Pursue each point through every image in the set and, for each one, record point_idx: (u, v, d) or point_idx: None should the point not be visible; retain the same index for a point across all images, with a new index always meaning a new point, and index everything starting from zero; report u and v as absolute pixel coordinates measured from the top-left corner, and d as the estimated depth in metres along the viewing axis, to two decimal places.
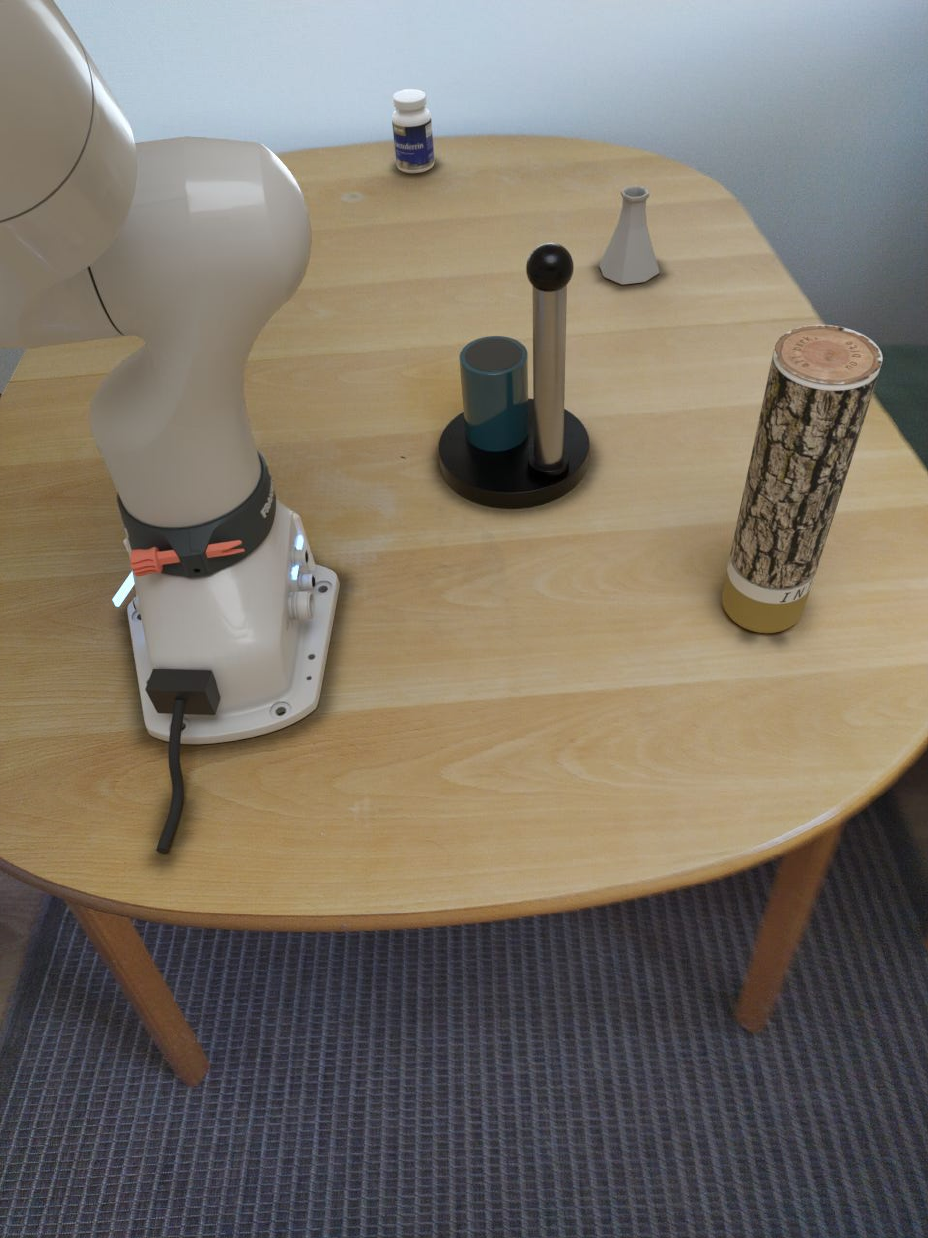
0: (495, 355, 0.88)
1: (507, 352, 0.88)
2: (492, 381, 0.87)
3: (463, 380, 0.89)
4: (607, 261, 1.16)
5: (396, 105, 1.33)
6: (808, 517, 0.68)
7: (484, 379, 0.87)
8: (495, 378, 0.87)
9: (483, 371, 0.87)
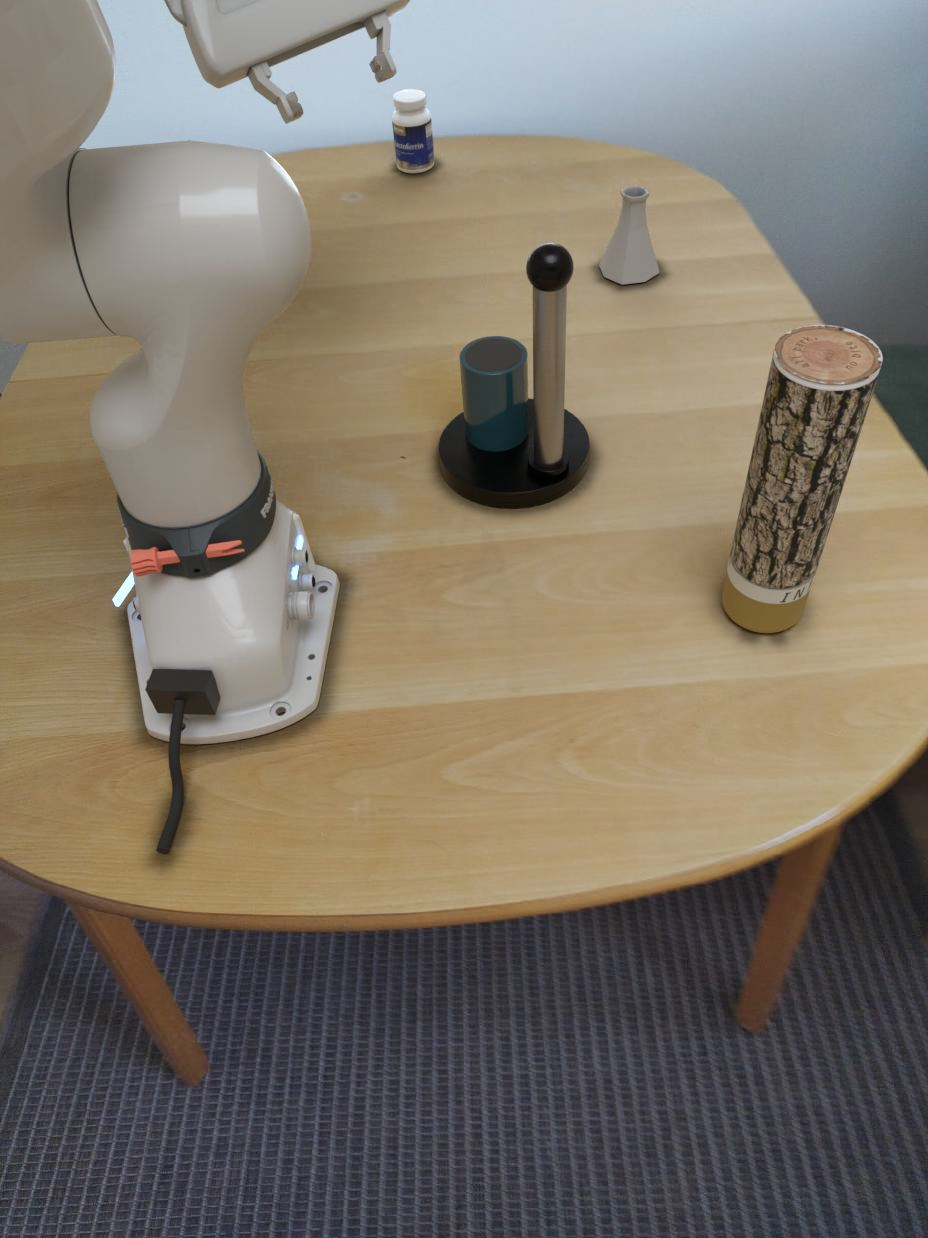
0: (495, 355, 0.88)
1: (507, 352, 0.88)
2: (492, 381, 0.87)
3: (463, 380, 0.89)
4: (607, 261, 1.16)
5: (396, 105, 1.33)
6: (808, 517, 0.68)
7: (484, 379, 0.87)
8: (495, 378, 0.87)
9: (483, 371, 0.87)
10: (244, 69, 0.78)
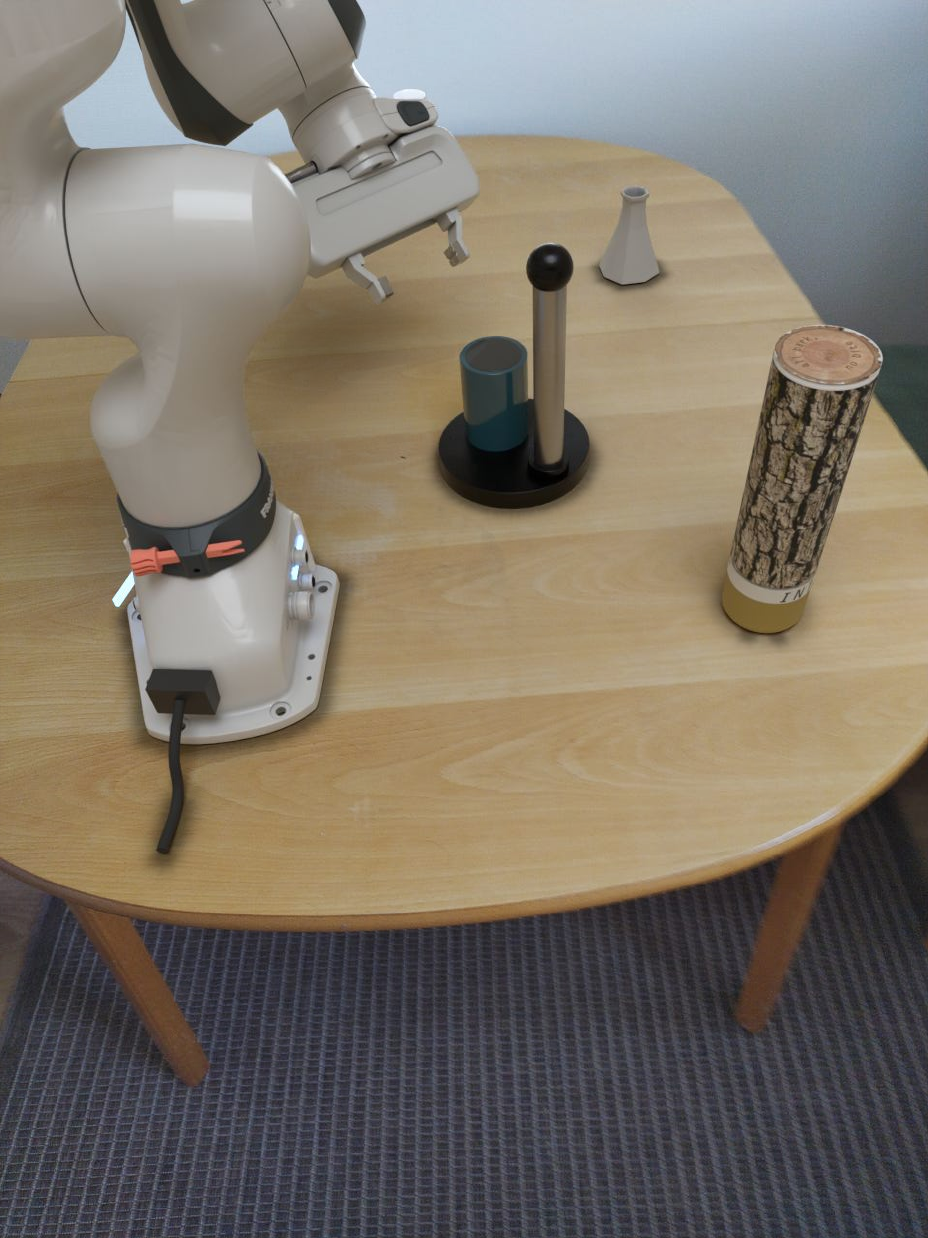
0: (495, 355, 0.88)
1: (507, 352, 0.88)
2: (492, 381, 0.87)
3: (463, 380, 0.89)
4: (607, 261, 1.16)
5: None
6: (808, 517, 0.68)
7: (484, 379, 0.87)
8: (495, 378, 0.87)
9: (483, 371, 0.87)
10: (342, 260, 0.86)
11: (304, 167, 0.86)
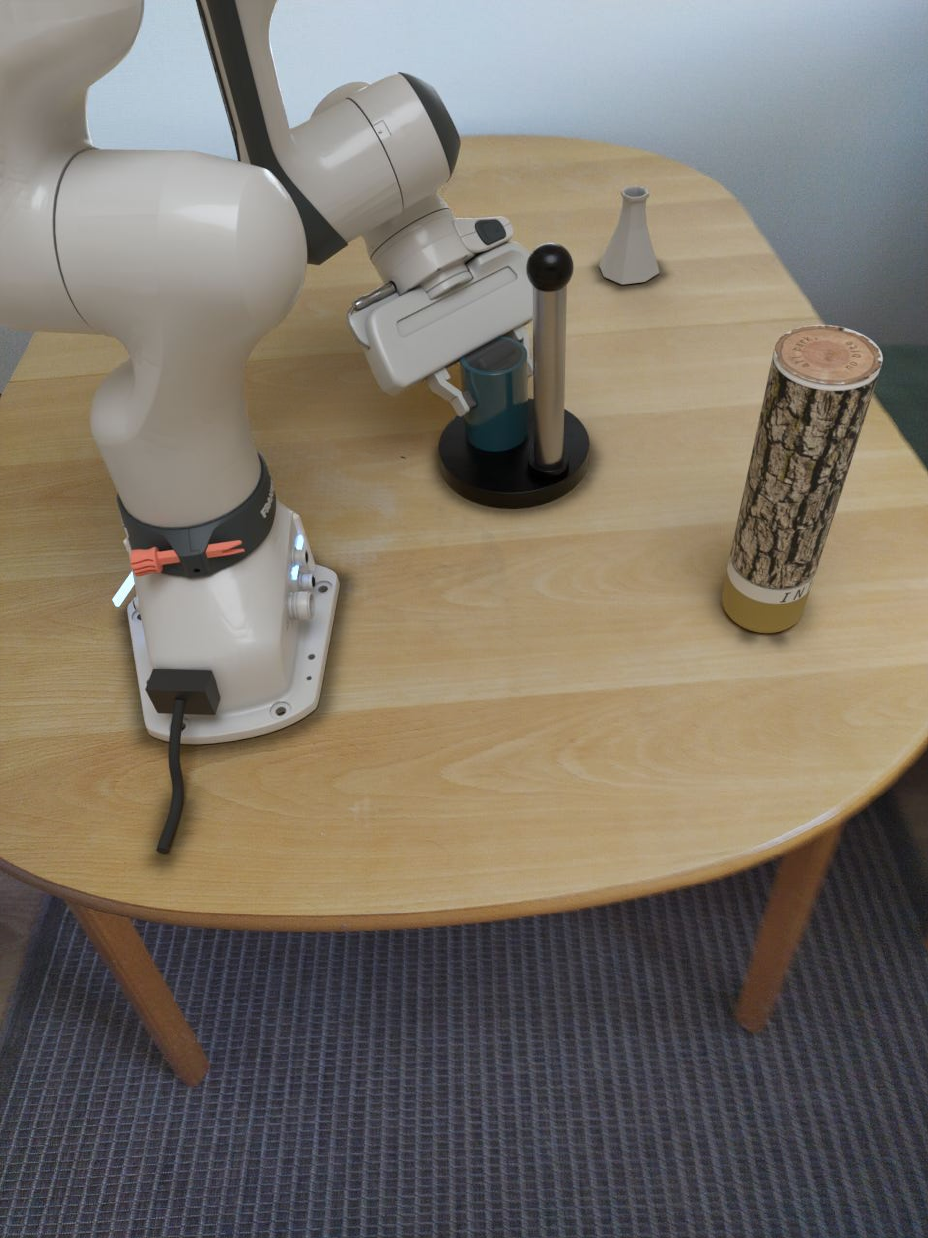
0: (495, 355, 0.88)
1: (506, 352, 0.88)
2: (492, 381, 0.87)
3: (463, 380, 0.89)
4: (607, 261, 1.16)
5: None
6: (808, 517, 0.68)
7: (484, 379, 0.87)
8: (494, 378, 0.87)
9: (483, 371, 0.87)
10: (421, 379, 0.87)
11: (384, 288, 0.87)
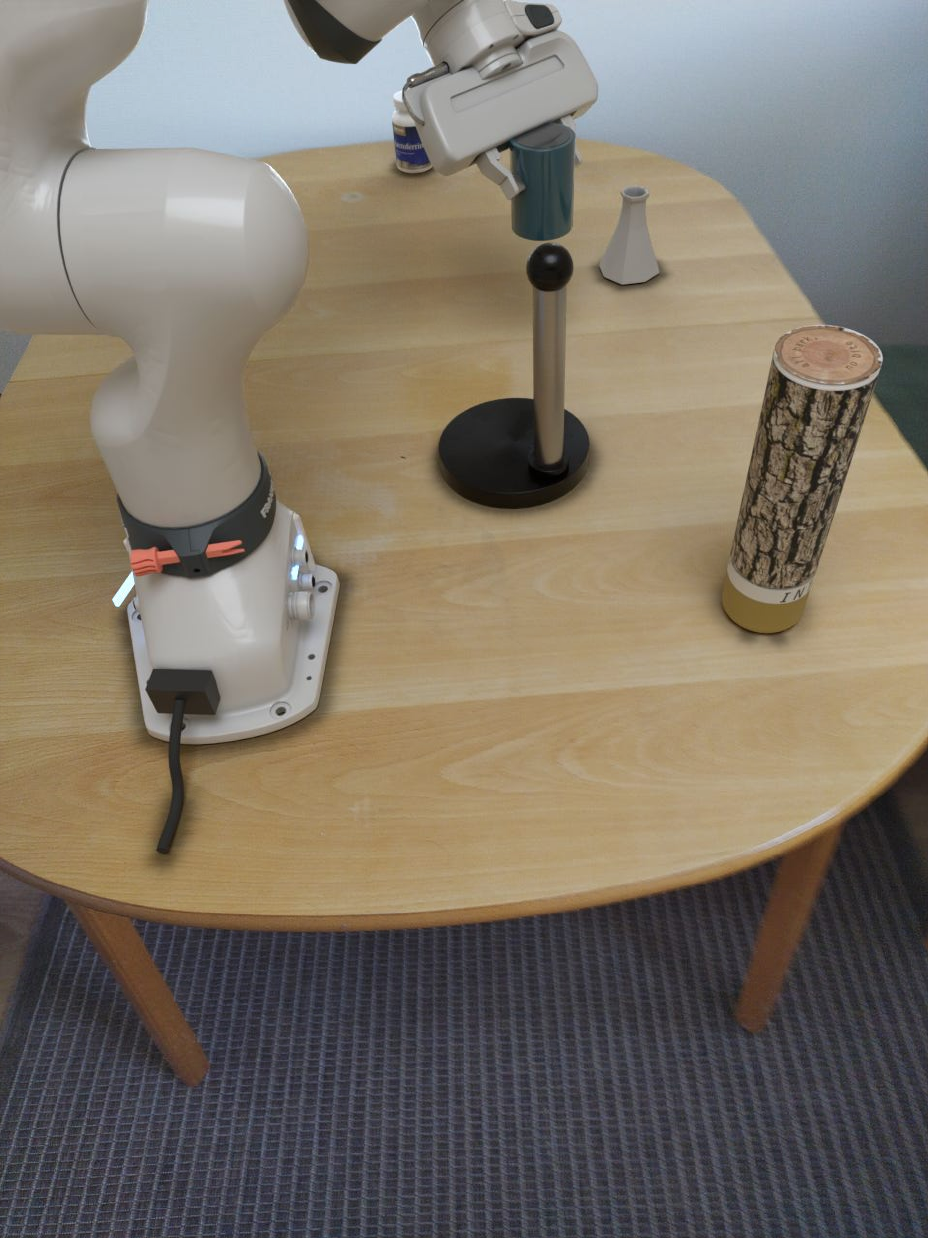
0: (544, 136, 0.91)
1: (555, 133, 0.91)
2: (542, 158, 0.90)
3: (513, 162, 0.92)
4: (607, 261, 1.16)
5: (396, 105, 1.33)
6: (808, 517, 0.68)
7: (534, 156, 0.90)
8: (544, 155, 0.90)
9: (533, 148, 0.90)
10: (473, 157, 0.90)
11: (437, 67, 0.89)
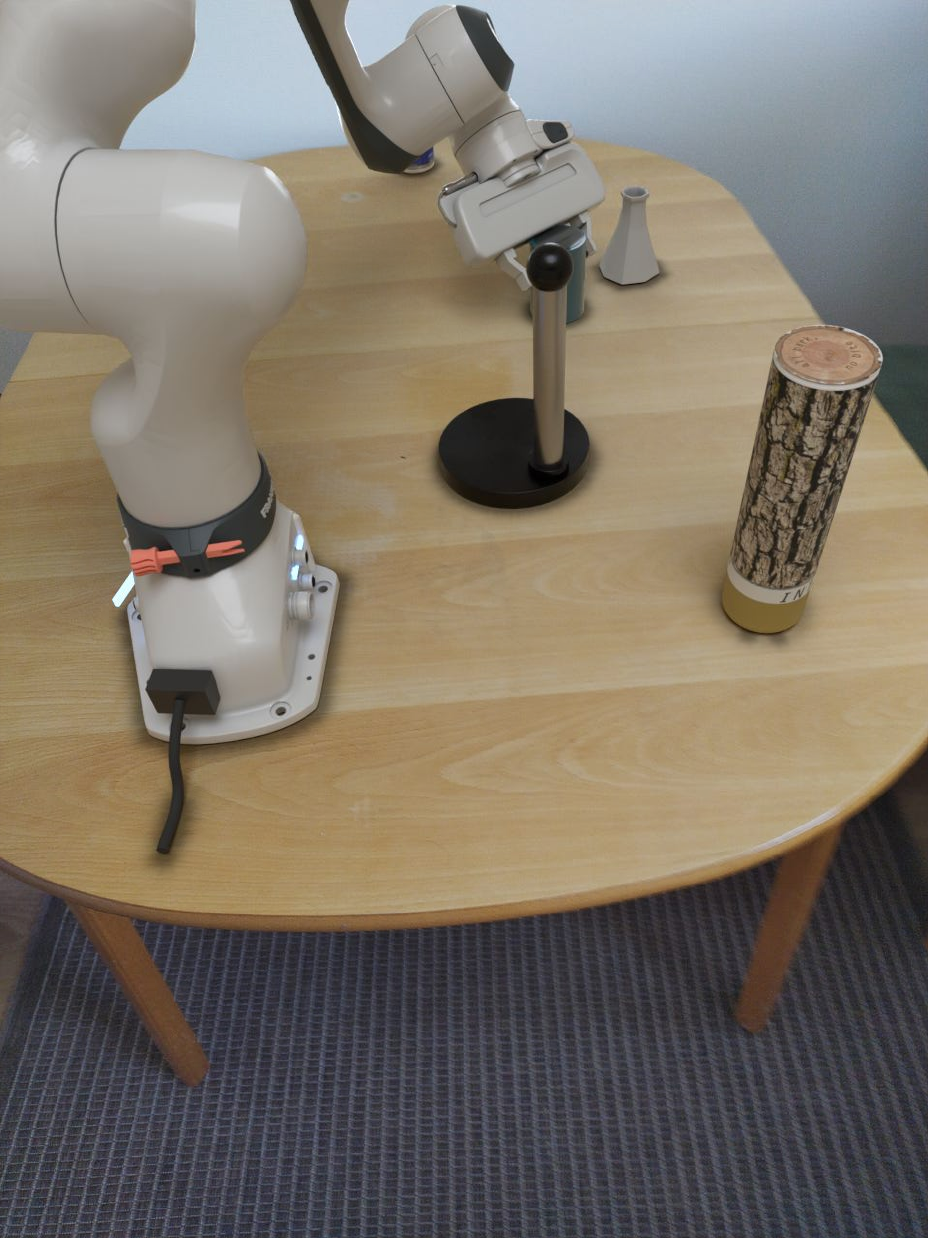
0: (559, 238, 1.06)
1: (569, 236, 1.06)
2: None
3: None
4: (607, 261, 1.16)
5: None
6: (808, 517, 0.68)
7: None
8: None
9: None
10: (498, 254, 1.04)
11: (468, 177, 1.04)
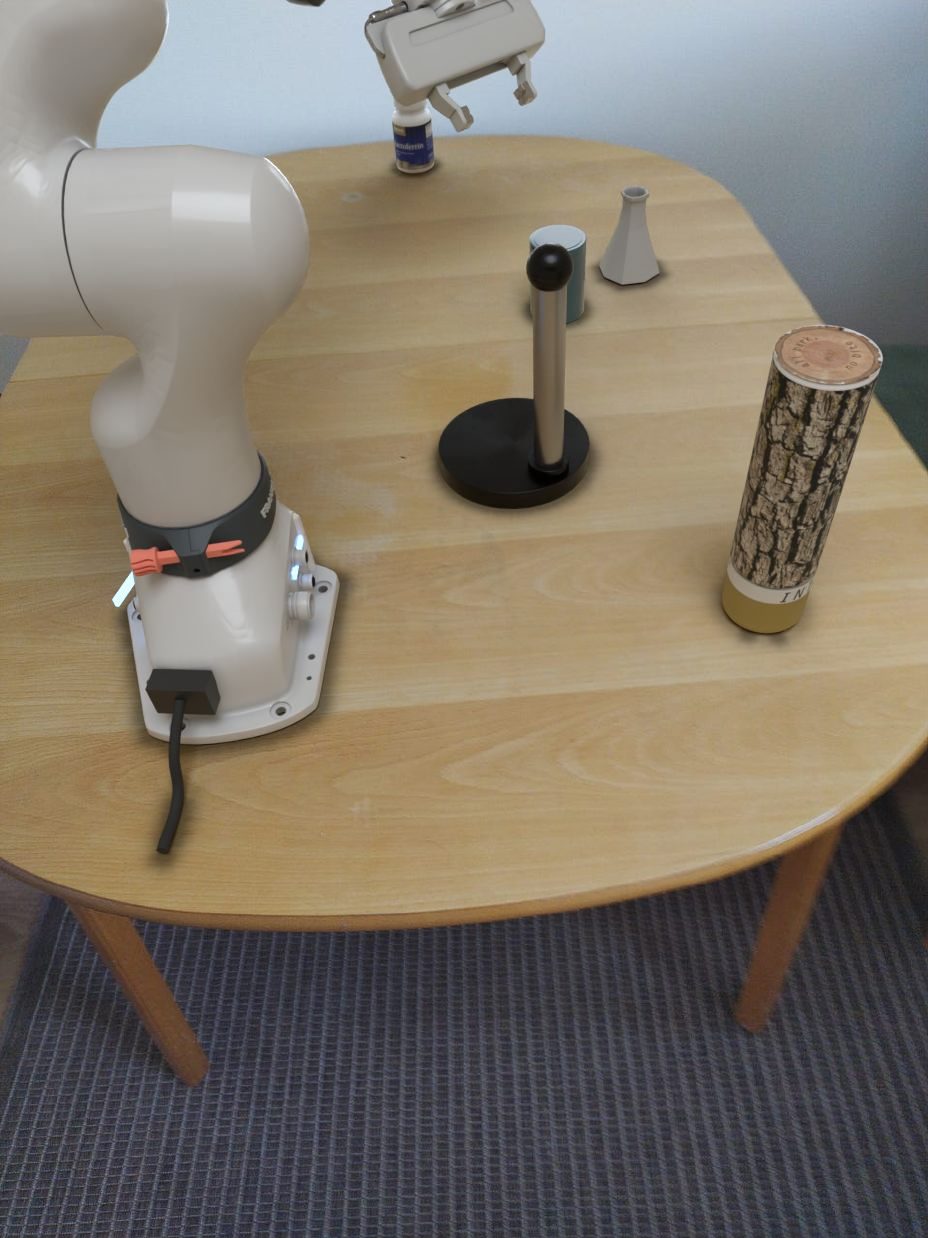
0: (559, 238, 1.06)
1: (569, 236, 1.06)
2: None
3: None
4: (607, 261, 1.16)
5: (396, 105, 1.33)
6: (808, 517, 0.68)
7: None
8: None
9: None
10: (430, 87, 0.98)
11: (397, 5, 0.98)
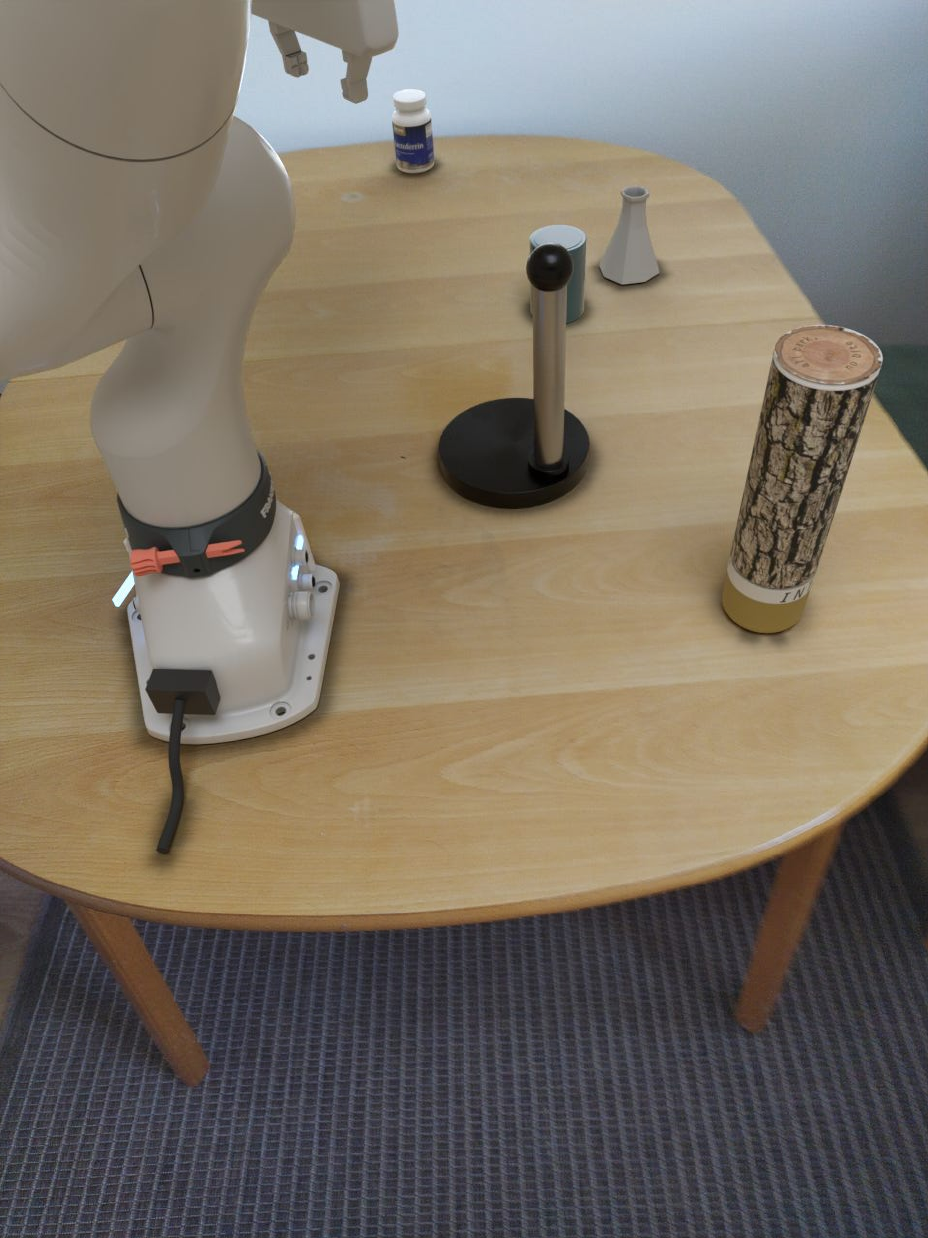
0: (559, 238, 1.06)
1: (569, 236, 1.06)
2: None
3: None
4: (607, 261, 1.16)
5: (396, 105, 1.33)
6: (808, 517, 0.68)
7: None
8: None
9: None
10: None
11: None
